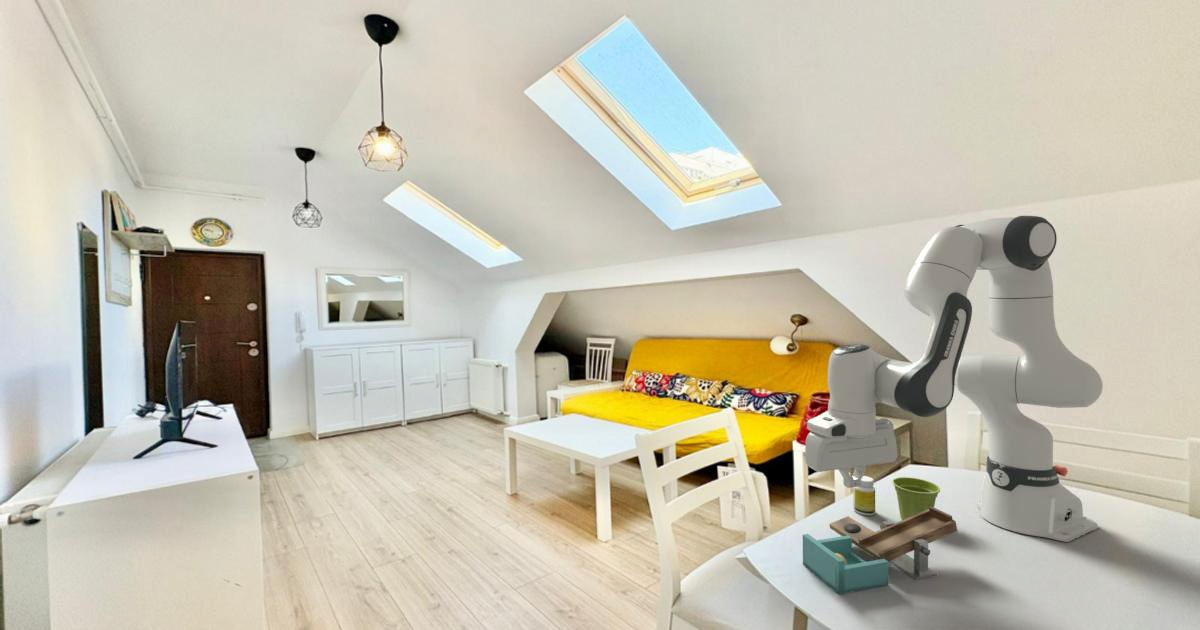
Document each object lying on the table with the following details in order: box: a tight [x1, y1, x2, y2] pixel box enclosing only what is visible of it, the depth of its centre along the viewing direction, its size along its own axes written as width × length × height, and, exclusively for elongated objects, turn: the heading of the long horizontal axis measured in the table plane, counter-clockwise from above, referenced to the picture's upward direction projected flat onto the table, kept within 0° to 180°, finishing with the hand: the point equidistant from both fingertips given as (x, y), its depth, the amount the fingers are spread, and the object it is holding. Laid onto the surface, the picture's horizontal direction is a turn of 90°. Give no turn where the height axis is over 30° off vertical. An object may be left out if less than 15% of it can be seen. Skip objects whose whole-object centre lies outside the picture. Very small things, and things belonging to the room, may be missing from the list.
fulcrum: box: [879, 520, 938, 581], centre depth 93 cm, size 5×10×6 cm, turn 13°
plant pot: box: [891, 476, 941, 521], centre depth 110 cm, size 9×9×9 cm
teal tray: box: [802, 533, 890, 595], centre depth 90 cm, size 11×10×6 cm
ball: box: [835, 553, 847, 565], centre depth 89 cm, size 4×4×4 cm
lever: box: [829, 506, 958, 561], centre depth 97 cm, size 18×14×3 cm
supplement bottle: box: [852, 475, 876, 517], centre depth 115 cm, size 5×5×8 cm
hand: (852, 486), depth 99 cm, fingers closed
